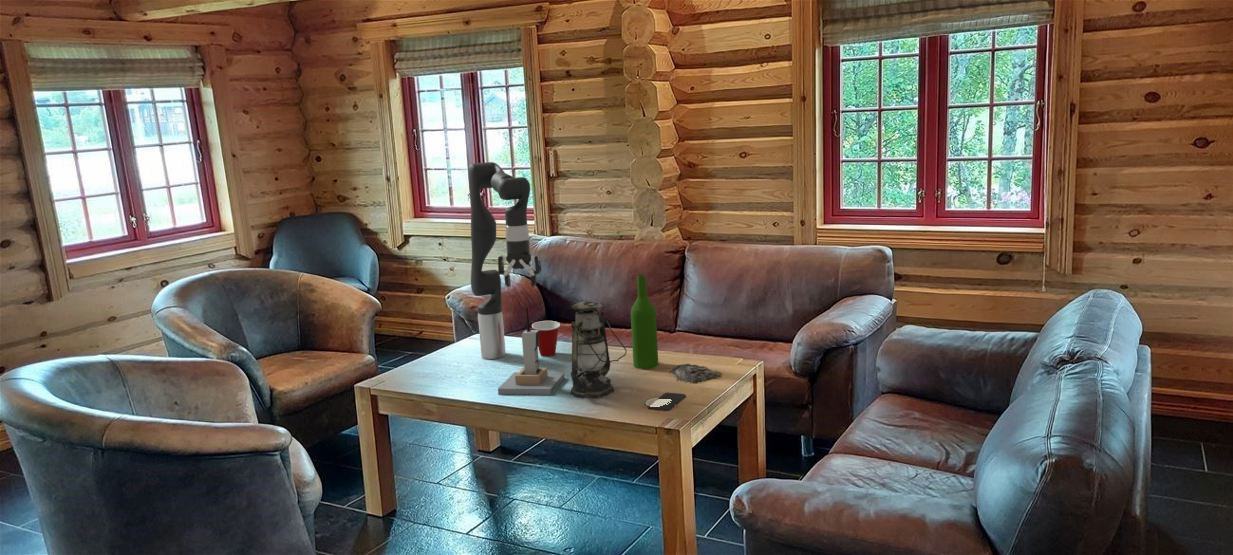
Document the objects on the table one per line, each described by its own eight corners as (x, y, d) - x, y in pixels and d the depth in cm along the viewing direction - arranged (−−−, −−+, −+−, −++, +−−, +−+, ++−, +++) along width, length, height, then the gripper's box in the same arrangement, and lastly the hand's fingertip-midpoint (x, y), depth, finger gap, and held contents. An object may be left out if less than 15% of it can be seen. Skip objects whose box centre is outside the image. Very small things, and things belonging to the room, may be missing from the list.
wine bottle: (663, 364, 317) (659, 274, 311) (648, 370, 310) (643, 279, 304) (643, 360, 322) (639, 272, 316) (628, 366, 316) (623, 277, 310)
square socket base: (514, 377, 311) (513, 363, 310) (564, 377, 307) (563, 364, 306) (498, 394, 293) (497, 379, 292) (551, 394, 290) (549, 380, 289)
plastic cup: (540, 360, 331) (538, 329, 328) (529, 354, 340) (527, 323, 338) (567, 355, 335) (564, 324, 333) (555, 349, 345) (553, 319, 343)
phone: (646, 407, 271) (665, 392, 284) (646, 410, 271) (665, 394, 284) (669, 409, 268) (686, 394, 281) (669, 412, 268) (687, 396, 281)
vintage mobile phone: (539, 381, 298) (533, 308, 294) (525, 381, 299) (519, 308, 295) (542, 377, 302) (537, 306, 297) (528, 377, 303) (523, 306, 298)
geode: (705, 387, 290) (727, 374, 302) (705, 375, 289) (726, 363, 301) (656, 380, 301) (679, 368, 313) (655, 369, 300) (678, 357, 312)
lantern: (594, 380, 303) (589, 294, 297) (638, 388, 291) (633, 299, 285) (556, 395, 289) (550, 305, 283) (601, 405, 277) (595, 311, 271)
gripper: (541, 236, 295) (544, 283, 299) (500, 236, 298) (504, 284, 302) (535, 240, 288) (538, 288, 292) (493, 240, 291) (497, 289, 294)
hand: (521, 286), depth 297 cm, fingers open, 8 cm apart
